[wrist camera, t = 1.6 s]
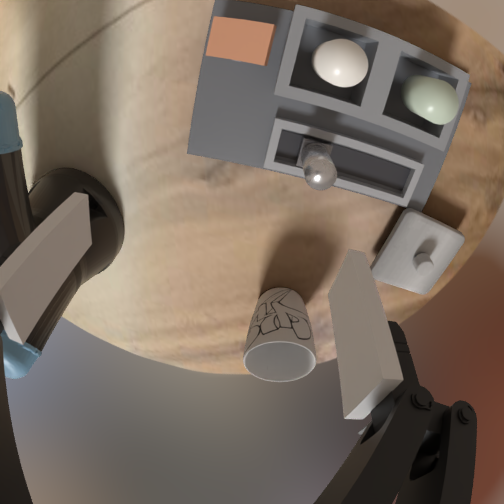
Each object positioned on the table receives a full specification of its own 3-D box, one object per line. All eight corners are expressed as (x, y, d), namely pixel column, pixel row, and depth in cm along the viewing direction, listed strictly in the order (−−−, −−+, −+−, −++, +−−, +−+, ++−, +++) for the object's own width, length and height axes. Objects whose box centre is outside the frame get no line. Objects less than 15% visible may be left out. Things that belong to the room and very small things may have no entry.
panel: (190, 149, 32) (175, 167, 27) (218, 0, 22) (206, -10, 18) (416, 206, 33) (434, 231, 29) (464, 81, 24) (492, 89, 19)
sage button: (395, 105, 23) (413, 114, 20) (407, 68, 21) (427, 72, 17) (429, 119, 23) (450, 131, 20) (441, 84, 21) (463, 91, 18)
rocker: (211, 56, 23) (205, 56, 22) (220, 17, 21) (214, 15, 20) (267, 67, 23) (263, 66, 22) (277, 25, 20) (274, 23, 19)
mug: (281, 341, 48) (280, 397, 40) (231, 323, 46) (222, 380, 38) (323, 294, 42) (331, 354, 33) (267, 270, 40) (264, 331, 32)
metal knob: (295, 161, 30) (299, 186, 25) (302, 134, 28) (308, 154, 23) (322, 168, 30) (332, 194, 25) (330, 142, 28) (343, 163, 23)
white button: (306, 75, 22) (311, 78, 19) (316, 35, 20) (323, 32, 17) (348, 88, 23) (360, 93, 19) (359, 49, 20) (373, 48, 17)
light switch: (400, 197, 33) (415, 219, 29) (458, 225, 34) (475, 248, 30) (362, 263, 38) (370, 290, 34) (420, 282, 40) (431, 308, 35)
